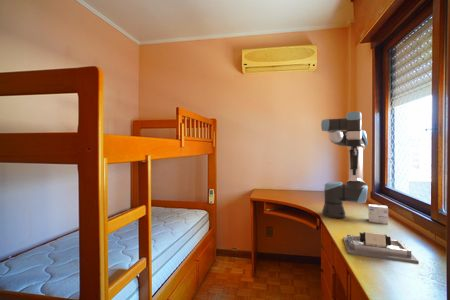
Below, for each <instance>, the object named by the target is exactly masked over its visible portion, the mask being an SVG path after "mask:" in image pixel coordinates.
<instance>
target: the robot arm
mask: <svg viewBox="0 0 450 300" xmlns="http://www.w3.org/2000/svg"><path fill="white" fill-rule="evenodd" d="M362 117H363V116H362V112H361V111H349V112H347V113H346V117H344V118H343V117H342V118H327V119H326V118H325V119H322V120H321V123H320V126H321V131H322V132H327V134H328V139H329V141H330V142H331V143H333V144H334V145H337V146H340V147H347V149H348V150H349V152H348V153H349V155H348V156H349V157H348V162H349V163H348V164H349V165H348V167H349V168H348V180H347V181H346V184H344V183H343V181H331V182H326V183H325V184H324V190H323V191H324V204H323V206H322V207H323V208H322V211H321V214H322V216H325V217H328V218H331V219H332V218H333V219H335V218H336V219H340V218H341V219H343V218H346V210H345V208H344V206H343V205H344V204H343V202H347V203H349V202H350V203H357V204H360V203H361V204H365V203H366V202H367V197H368V190H369V186H368V185H367V184H366V182H365V181H364V150H365V149H366V147H368V142H369V141H368V136H367V132H366V131H365V130H363V129H362Z"/></svg>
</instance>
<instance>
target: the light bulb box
mask: <svg viewBox="0 0 450 300" xmlns="http://www.w3.org/2000/svg"><path fill="white" fill-rule="evenodd" d="M388 207H389V206H388V205H383V204H382V205H381V204H369V203H368V222H370V223H377V224H384V225H389V208H388Z"/></svg>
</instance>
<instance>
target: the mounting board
mask: <svg viewBox="0 0 450 300" xmlns="http://www.w3.org/2000/svg"><path fill="white" fill-rule="evenodd" d="M342 240H343V242H344V246H345V248H346V252H347V254H348V255H353V256H361V257H367V258H377V259H381V260H382V259H384V260H390V261H400V262H404V263H405V262H406V263H412V264H419V263H420V261H419V260H418V259H417V257H415V256H414V255H413V253H411V257H407V256H399V255H391V254H384V253H376V252H368V251H360V250H353V249H350V246H349V244H348V241H347V236H343V237H342Z"/></svg>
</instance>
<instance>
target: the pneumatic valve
mask: <svg viewBox="0 0 450 300" xmlns="http://www.w3.org/2000/svg"><path fill="white" fill-rule="evenodd" d="M359 236H360V242H363V244H364V245H372V246H376V247H387V246H391V240H392V239H391V236H390V235H388V234H385V233H384V234H383V233H375V232H374V233H373V232H365V231H363V232H359Z"/></svg>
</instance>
